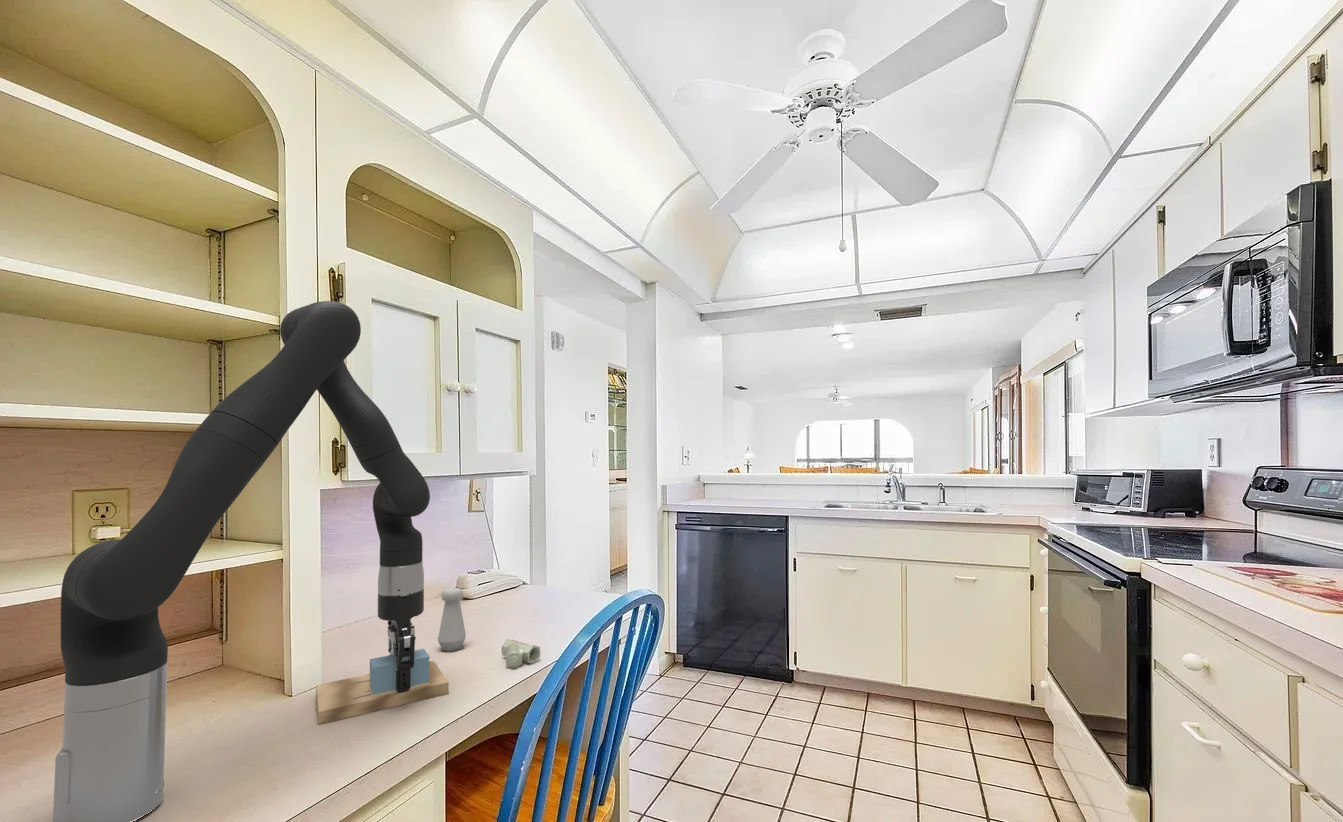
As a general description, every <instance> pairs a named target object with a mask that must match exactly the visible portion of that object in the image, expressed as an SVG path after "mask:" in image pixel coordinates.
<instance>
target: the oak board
mask: <svg viewBox="0 0 1343 822" xmlns="http://www.w3.org/2000/svg"><path fill="white" fill-rule="evenodd" d="M315 687H316V688H315V698H316V699H315V700H316V706H317V707H316V709H317V717H318V718H317V720H318V725H323V724H327V723H331V722H332V723H333V722H336V721H340V720H344V719H349V718H353V717H357V716H361V715H364V714H369V713H374V712H378V711H382V710H385V709H390V708H394V707H398V706H399V707H400V706H402V705H407V704H410V703H411V704H412V703H416V702H419V701H423V700H428V699H431V698H435V697H439V696H440V697H441V696H444V695H449V681H448V679H447V678H446V676H445V675H444V674H443V672H442V671H441V669H440V667H439V666H438V665H437V663H436V662H435V661H434V660H431V661H430V660H429V685H427V686H423V687H418V688H414V689H410V690H407V691H403V692H397V693H392V694H388V695H384V696H379V697H375V698H373V697H372V694H371V691H370V673H367V674H362V675H357V676H353V677H350V678H344V679H343V678H342V679H338V680H333V681H330V682H323V683H319V684H316V685H315Z"/></svg>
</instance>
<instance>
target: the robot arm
mask: <svg viewBox="0 0 1343 822" xmlns="http://www.w3.org/2000/svg"><path fill="white" fill-rule="evenodd" d="M361 330H362V327H361V322H360V319H359V316H358V315H357V313H356V312H355V311H354V310H353V309H352V308H351V307H350V306H348V305H347V304H345V303H342V302H339V301H336V300H335V301H333V300H325V301H316V302H313V303H310V304H307V305H304V306H300V307H299V308H295V309H293V310H291V311H289V313H287V314H286V315H285V316H284V317H283V318H282V321H281V323H280V328H279V333H280V337H281V341H282V343H283V347H281V349H280V350H279V352H278V353H277V354H275V357H273V359H271V361H270V362H269V363H267V364H266V365H265V366H264V367H262V368H261V369H260V370H259V371H257V372H256V373H254V374H253V375H252V376H250V377H249V378H248V379H247V380H246V381H244V382H243V383H241V385H239V386H238V387H236V389H234V390H233V391H231V393H229V394H227V396H225V397H224V399H223V400H222V401H220V402H219V403H218V404H217V405H216V406H215V407H214V408H213V410H212V411H211V412H210V413H209V414H208V415H207V417H205V418H204V420H203V421H202V422H201V423H200V424H199V426H198V427H197V428H196V429H195V431H193V433H192V434H191V436H190V437H189V438H188V440H187V441H186V442H185V444H184V446H183V448H182V450H180V453H179V456H177V459H176V461H175V464H174V466H173V469H172V471H171V473H170V476H169V478H168V480H167V482H166V485H165V487H164V489H163V490H162V492H161V494H160V495H159V497H158V498H157V500H156V501H155V503H154V504H153V505H152V506H151V507H150V509H149V510H148V511H147V512H146V513H144V516H142V518H140V520H139V521H138V522H137V523H136V524H135V525H134V526H133V527H132V528H131V529H130V530H129V531H128V532H127V534H125V535H124V537H122V538H119V539H109V540H105V541H102V542H97V543H95V544H93V545H91V546H89V547H87V548H86V549H83V551H81V552H80V553H79V554H77V556H75V557H74V558H73V560H72V561H71V562H70V563H69V565H68V567H67V568H66V570H65V573H64V576H63V580H62V582H61V583H62V585H61V591H60V592H61V593H60V653H61V657H62V660H63V664H64V682H65V684H64V704H63V705H64V706H63V722H62V724H63V727H62V745H61V746H62V747H61V749H60V750H59V751H58V753H57V754H56V756H55V758H54V759H55V761H54V787H53V788H54V789H53V807H52V811H53V812H52V822H130V821H133V820H135V819H137V818H139V817H141V816H143V815H145V814H147V813H148V812H150V811H151V810H153V809H154V808H156V807H157V806H158V805H159V804H160V803H161V804H162V802H163V800H164V799H163V798H164V787H165V779H164V778H165V755H166V753H165V752H166V751H165V750H166V721H167V720H166V719H167V718H166V716H167V714H166V713H167V690H168V689H167V688H168V687H167V686H168V685H167V684H168V683H167V681H168V657H169V656H168V651H169V645H168V644H169V643H168V640H167V638H166V637H165V636H166V635H165V634H164V633H163V630H162V627H161V624H160V619H159V608H160V606H161V605H163V604H164V603H165V602H166V601H167V600H168V599H169V598H170V597H171V595H172V594H173V593H174V592H175V590H176V589H177V587H178V586H179V584H180V583H181V582H182V579H183V578H184V576H185V575H186V573H187V571H188V570H189V568H190V566H191V565H192V563H193V561H194V560H195V558H196V556H197V554H198V553H199V551H200V549H201V548H202V547H203V545H204V543H205V541H206V540H207V538H208V537H209V536H210V534H211V532H212V530H213V529H214V528H215V526H216V525H217V523H218V522H219V521H220V520H221V518H222V517H223V516H224V514H225V513H226V512H227V511H228V510H229V508H230V507H231V506H232V504H233V503H234V502H235V501H236V500H237V498H238V497H239V496H240V495H241V493H242V491H244V490H245V488H246V486H247V485H248V484H249V482H250V481H251V480H252V478H253V477H254V476H255V475H256V474H257V472H258V471H259V470H260V469H261V468H262V466H263V465H265V463H266V462H267V460H268V458H269V457H270V456H271V455H272V454H273V452H274V451H275V450H276V448H277V446H278V445H279V444H280V443H281V441H282V439H283V438H284V436H285V434H286V433H287V432H288V430H289V429H290V428H291V426H292V425H293V424H294V423H295V421H296V420H297V418H298V417H299V416H300V414H301V413H302V412H303V410H304V409H305V407H306V406H307V404H308V403H309V401H310V400H311V398H312V397H313V396H314V394H315V393H316V391H317V392H318V393H319V396H321V398H322V399H323V401H324V402H325V403H326V405H327V406H328V408H329V410H330V411H331V413H332V414H333V416H334V417H335V420H336V421H337V423H338V425H340V427H341V429H342V432H343V433H344V435H345V436H346V439H347V441H348V443H349V444H350V446H351V448H352V451H353V452H354V454H355V456H356V458H357V459H358V462H359V463H360V466H361V467H362V468H363V470H364V471H365V472H366V473H368V474H370V475H372V476H374V477H375V478H376V479H377V480H378V481H379V483H378V485H376V488H375V490H374V493H373V498H372V511H373V516H374V521H375V526H376V530H377V534H378V538H379V570H378V575H377V617H378V619H380V620H382V621H387V630H386V631H387V636H388V639H387V646H388V649H387V651H388V653H389V655H392V656H393V657H395V661H396V666H395V669H396V690H397V692H403V691H407V690H409V689H410V668H412V667H414V650H416V649H415V648H416V647H415V646H416V636H415V634H416V632H415V631H416V628H415V625H413V623H412V621H411V619H412V618H414V617H418V616H420V615H421V614H422V613H423V612H424V611H425V607H424V606H425V602H424V601H425V570H424V565H423V563H424V562H423V544H424V543H423V536H422V535H423V534H422V532H420V530H418V529H417V528H415V526H414V525H413V520H412V517H417V516H419V515H421V514H423V513H424V512H425V511H426V510H427V508H428V506H429V504H430V499H431V494H430V488H429V484H428V483H427V481H426V479H425V477H424V476H423V475H422V473H421V472H420V470H419V469H418V468H417V466H416V465H415V464H414V463H413V462H412V461H411V459H410V458H409V457H408V456H407V455H406V454H405V452H404V451H403V449H402V448H403V447H402V445H401V444H400V442H399V440H398V437H397V435H396V434H395V431H394V429H393V427H392V425H391V424H390V422H389V420H388V419H387V416H385V414H384V413H383V412H382V410H381V409H380V408H379V406H378V405H377V404H376V403H375V402H374V401H373V400H372V399H371V398H370V397H369V396H368V395H367V394H366V392H364V390H363V389H362V388H361V387H360V385H358V383H357V382H356V380H355V379H354V377H353V376H352V375H351V372H350V370H349V368H348V367H347V365H346V363H345V360H346V358H347V357H349V355H350V354H351V353H352V352H353V351H354V350H355V348H356V347H357V345H358V343H359V341H360V338H361ZM403 657H408V661H404V662H402V658H403ZM162 799H163V800H162ZM161 801H162V802H161ZM161 804H160V805H161ZM160 805H159V806H160ZM159 806H158V807H159ZM158 807H157V808H158ZM157 808H156V809H157ZM153 811H154V810H153Z"/></svg>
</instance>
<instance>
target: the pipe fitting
mask: <svg viewBox="0 0 1343 822" xmlns="http://www.w3.org/2000/svg"><path fill="white" fill-rule="evenodd" d="M501 656H503V657H505V665H506V667H507V668H509V669H516V668H515V667H517V668H519V667H520V666H521V665H522V663H523V662H526V663H529V664H533V665H534V664H535V663H537V662H538V661H539V659H540V657H541V647H540V646H539V645H535V644H531V643H526V642H522V641H519V640H514V639H510V638H506V640H505V641H504V642H503V644H502V645H501Z"/></svg>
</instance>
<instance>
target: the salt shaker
mask: <svg viewBox="0 0 1343 822" xmlns="http://www.w3.org/2000/svg"><path fill="white" fill-rule="evenodd" d="M462 598H463V590H462V589H461V588H459V587H449V588H448V587H447V588H445V589H444V590H443V591H442V592H441V600H442V601H444V605H443V609H442V610H443V611H442V614H441V615H442V617H441V621H440V626H439V632H438V636H437V642H438V644H439V646H440V648H441V650H442V652H449V651H451V652H455V651H458V649H459V650H460V649H461V648H462V647H463V645H464V643H465V640H466V637H467V636H466V635H467V633H466V629H465V623H464V617H463V610H462V606H461V599H462ZM454 650H455V651H454Z"/></svg>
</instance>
